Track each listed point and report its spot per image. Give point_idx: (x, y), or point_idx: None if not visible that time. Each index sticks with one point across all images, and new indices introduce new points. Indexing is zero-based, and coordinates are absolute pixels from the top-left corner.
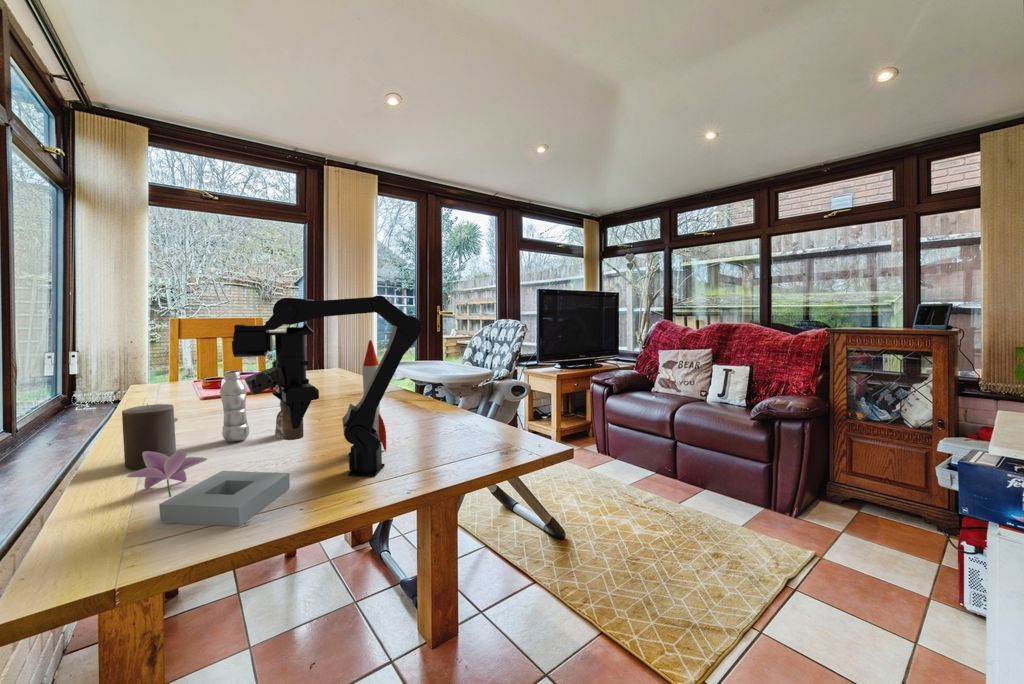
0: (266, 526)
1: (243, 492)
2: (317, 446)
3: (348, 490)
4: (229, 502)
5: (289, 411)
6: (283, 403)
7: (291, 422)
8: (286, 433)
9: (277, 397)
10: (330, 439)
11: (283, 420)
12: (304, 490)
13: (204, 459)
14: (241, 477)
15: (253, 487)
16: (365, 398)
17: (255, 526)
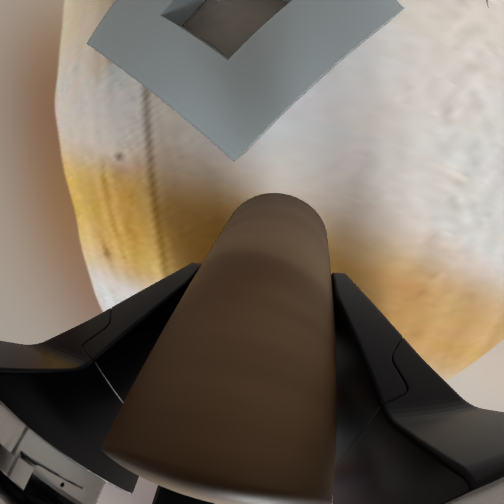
0: (89, 93)
1: (159, 36)
2: (479, 299)
3: (159, 257)
4: (120, 17)
5: (92, 327)
6: (161, 393)
7: (174, 280)
8: (234, 218)
9: (425, 452)
10: (485, 329)
11: (238, 252)
12: (211, 181)
13: (486, 1)
14: (294, 30)
15: (177, 57)
16: (158, 487)
17: (98, 74)
